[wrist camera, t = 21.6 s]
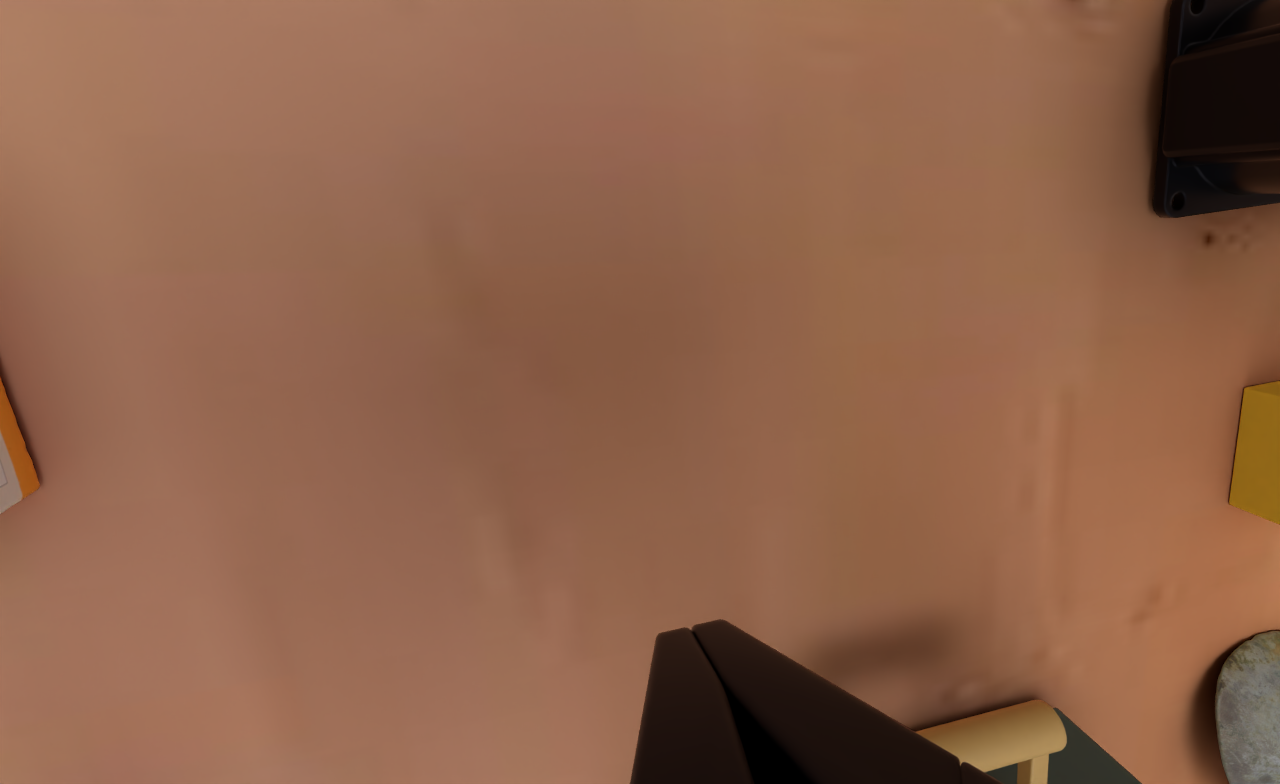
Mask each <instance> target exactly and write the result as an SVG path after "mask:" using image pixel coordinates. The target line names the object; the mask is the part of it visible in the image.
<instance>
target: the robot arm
mask: <svg viewBox="0 0 1280 784" xmlns="http://www.w3.org/2000/svg"><path fill="white" fill-rule="evenodd" d="M1191 3H1192V10H1191V8H1190V4H1191ZM1172 199H1174V201H1173V204H1172V203H1171V202H1172ZM1273 203H1280V0H1173V1H1172V4H1171V8H1170V17H1169V29H1168V40H1167V51H1166V63H1165V74H1164V85H1163V97H1162V108H1161V119H1160V131H1159V142H1158V153H1157V165H1156V176H1155V187H1154V199H1153V208H1154V211H1155V213H1156V215H1158V216H1159V217H1165V218H1178V217H1185V216H1192V215H1199V214H1205V213H1212V212H1219V211H1226V210H1233V209H1239V208H1246V207H1253V206H1260V205H1267V204H1273ZM630 784H1003V783H1002V782H1000V781H998V780H996V779H995V778H993V777H991V776H990V775H988V774H986V773H985V772H983V771H981V770H979V769H978V768H976V767H974V766H973V765H971V764H969V763H967V762H962V763H961V765H960V760H959V758H958V757H957V756H955V755H953V754H952V753H950V752H948V751H947V750H945V749H943V748H942V747H940V746H938V745H936V744H935V743H933V742H931V741H930V740H928V739H926V738H924V737H923V736H921V735H919V734H918V733H916V732H914V731H913V730H911V729H909V728H907V727H906V726H904V725H902V724H901V723H899V722H897V721H896V720H894V719H892V718H890V717H889V716H887V715H885V714H884V713H882V712H880V711H879V710H877V709H875V708H873V707H872V706H870V705H868V704H867V703H865V702H863V701H862V700H860V699H858V698H856V697H855V696H853V695H851V694H850V693H848V692H846V691H845V690H843V689H841V688H839V687H838V686H836V685H834V684H833V683H831V682H829V681H828V680H826V679H824V678H822V677H821V676H819V675H817V674H816V673H814V672H812V671H811V670H809V669H807V668H805V667H804V666H802V665H800V664H799V663H797V662H795V661H794V660H792V659H790V658H788V657H787V656H785V655H783V654H782V653H780V652H778V651H777V650H775V649H773V648H771V647H770V646H768V645H766V644H765V643H763V642H761V641H760V640H758V639H756V638H754V637H753V636H751V635H749V634H748V633H746V632H744V631H743V630H741V629H739V628H737V627H736V626H734V625H732V624H731V623H729V622H727V621H725V620H721V619H720V620H715V621H710V622H706V623H702V624H697V625H694V626H693V627H692V629H691V630H690V629H689V628H680V629H675V630H671V631H666V632H662V633H659V634H658V635H657V637H656V640H655V646H654V652H653V657H652V663H651V669H650V674H649V680H648V686H647V691H646V697H645V703H644V708H643V714H642V719H641V725H640V731H639V736H638V742H637V748H636V753H635V759H634V765H633V770H632V776H631V782H630Z"/></svg>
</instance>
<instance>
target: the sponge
mask: <svg viewBox="0 0 1280 784" xmlns="http://www.w3.org/2000/svg"><path fill="white" fill-rule="evenodd" d="M1229 504H1230V505H1232V506H1235V507H1237V508H1240V509H1242V510H1245V511H1247V512H1250V513H1252V514H1254V515H1257V516H1259V517H1262V518H1264V519H1267V520H1269V521H1272V522H1274V523H1277V524H1279V525H1280V381H1276V382H1271V383H1266V384H1261V385H1256V386H1251V387H1246V388H1244V394H1243V402H1242V409H1241V417H1240V424H1239V432H1238V439H1237V447H1236V454H1235V462H1234V469H1233V477H1232V484H1231V492H1230V499H1229Z"/></svg>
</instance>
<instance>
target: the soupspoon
mask: <svg viewBox="0 0 1280 784" xmlns="http://www.w3.org/2000/svg"><path fill="white" fill-rule="evenodd" d="M1215 696H1216V697H1215V701H1216V702H1215V721H1216V729H1217V738H1218V745H1219V751H1220V755H1221V761H1222V765H1223V768H1224V771H1225V774H1226V777H1227V779H1228V782H1229V784H1280V631H1271V632H1267V633H1263V634H1262V633H1261V634H1258V635H1255V636H1254V638H1253V639H1252V640H1249V641H1245V642H1244V643H1243V644H1242V645H1241V646H1239V647H1238V648H1237V649H1235V650H1234V652H1232V653H1231V655H1230V656H1228V658H1227V660H1226V661H1225V663H1224V665H1223V667H1222V670H1221V673H1220V675H1219V676H1218V680H1217V689H1216V694H1215Z"/></svg>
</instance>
